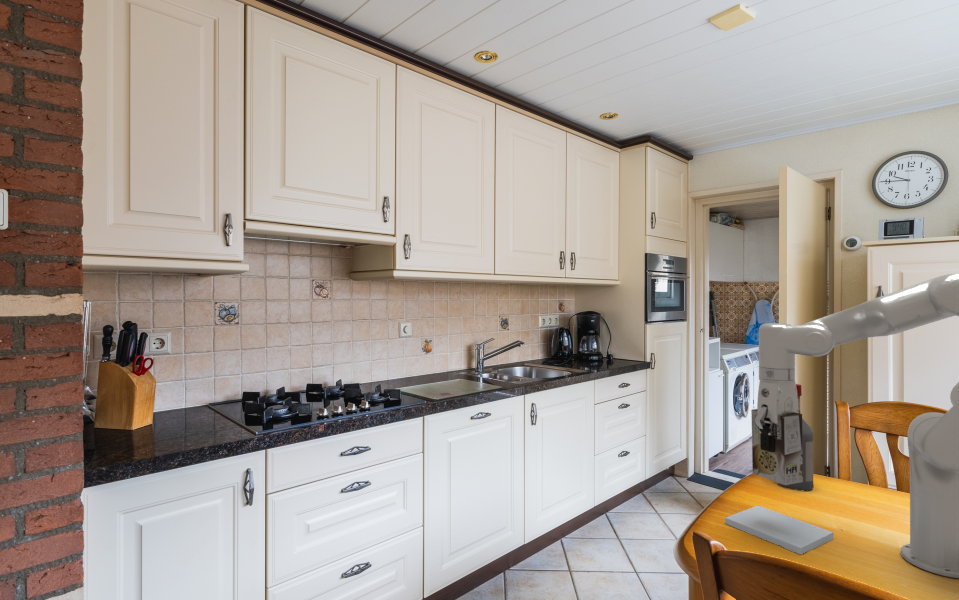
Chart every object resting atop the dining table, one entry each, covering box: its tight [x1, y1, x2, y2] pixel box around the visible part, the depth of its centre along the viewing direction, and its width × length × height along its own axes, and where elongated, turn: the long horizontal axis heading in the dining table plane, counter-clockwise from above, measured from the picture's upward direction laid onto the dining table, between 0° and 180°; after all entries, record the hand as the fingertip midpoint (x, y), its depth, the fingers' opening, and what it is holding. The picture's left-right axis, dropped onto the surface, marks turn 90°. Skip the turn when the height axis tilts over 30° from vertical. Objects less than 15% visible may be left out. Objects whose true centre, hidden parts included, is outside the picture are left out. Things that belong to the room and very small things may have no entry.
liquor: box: [777, 383, 814, 492], centre depth 152 cm, size 9×9×30 cm
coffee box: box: [751, 408, 803, 485], centre depth 123 cm, size 9×6×16 cm
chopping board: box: [724, 505, 834, 555], centre depth 123 cm, size 18×14×2 cm
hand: (776, 447), depth 123 cm, fingers closed on coffee box, 7 cm apart
